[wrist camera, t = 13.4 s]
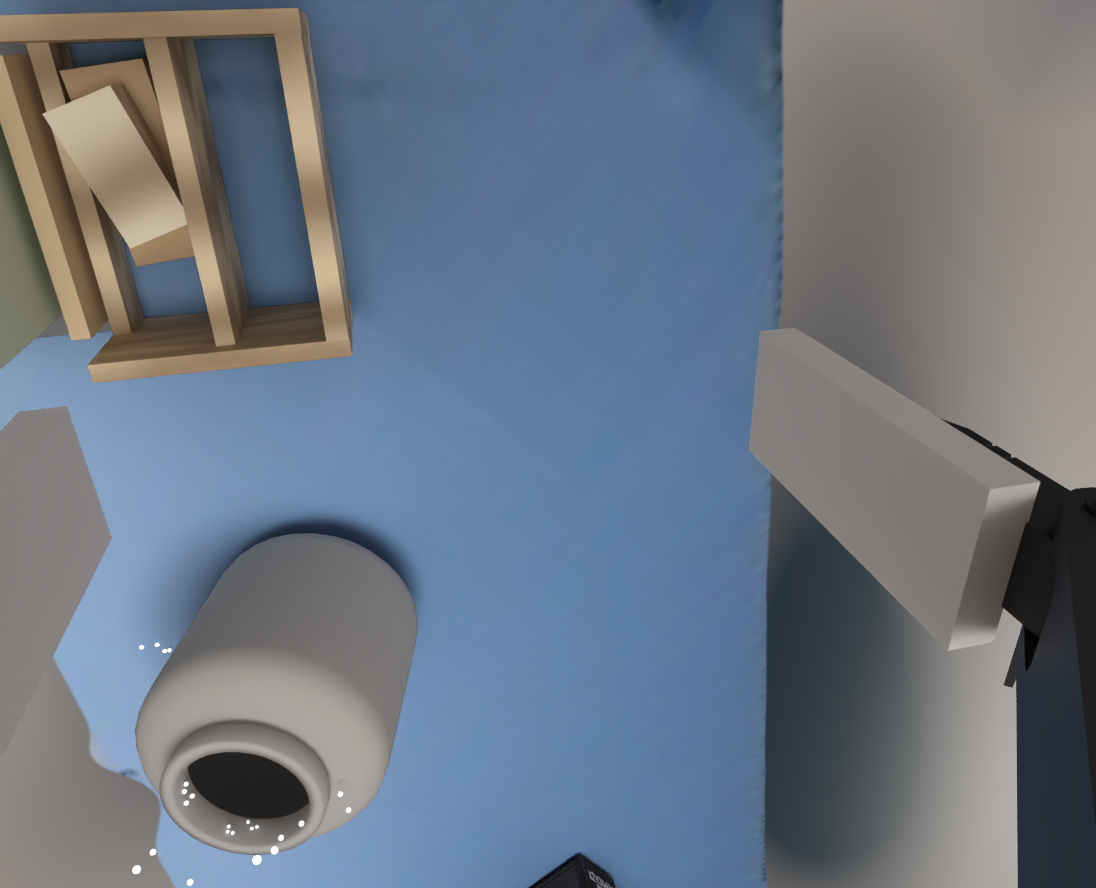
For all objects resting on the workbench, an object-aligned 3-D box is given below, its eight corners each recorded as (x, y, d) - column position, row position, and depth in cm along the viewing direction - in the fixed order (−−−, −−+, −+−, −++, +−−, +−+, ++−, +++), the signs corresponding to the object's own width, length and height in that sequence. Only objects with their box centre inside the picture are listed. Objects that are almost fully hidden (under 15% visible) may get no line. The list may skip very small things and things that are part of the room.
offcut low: (80, 69, 42) (59, 70, 39) (157, 57, 42) (142, 58, 39) (150, 252, 47) (136, 266, 44) (219, 240, 47) (209, 253, 44)
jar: (165, 685, 60) (57, 1046, 38) (136, 521, 54) (-14, 842, 32) (413, 662, 64) (444, 975, 42) (413, 508, 58) (449, 783, 36)
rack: (40, 22, 40) (-25, 15, 33) (307, 15, 43) (298, 8, 36) (131, 335, 48) (93, 382, 41) (352, 314, 50) (352, 356, 44)
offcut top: (59, 110, 40) (42, 114, 37) (123, 83, 40) (109, 85, 38) (141, 238, 43) (130, 248, 41) (200, 213, 43) (191, 222, 41)
